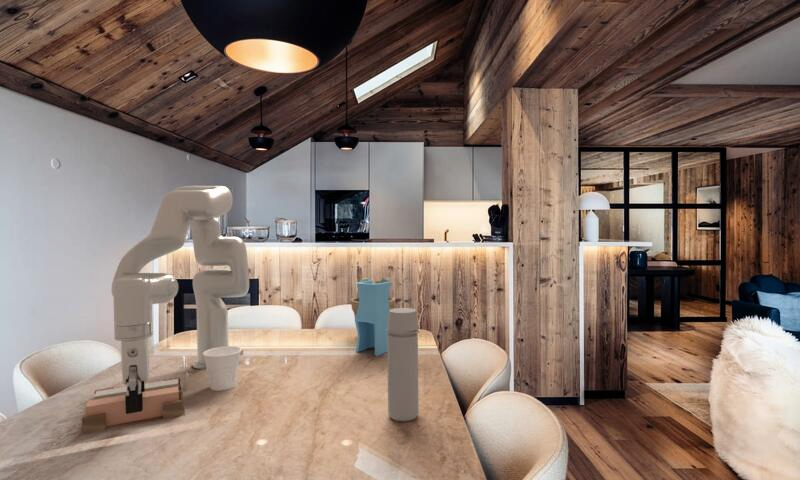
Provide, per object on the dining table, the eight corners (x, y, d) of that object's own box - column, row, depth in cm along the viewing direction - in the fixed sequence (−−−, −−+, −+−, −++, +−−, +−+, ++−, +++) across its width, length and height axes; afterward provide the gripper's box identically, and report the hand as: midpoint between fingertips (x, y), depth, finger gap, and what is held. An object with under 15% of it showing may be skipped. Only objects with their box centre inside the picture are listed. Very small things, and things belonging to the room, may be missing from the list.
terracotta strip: (178, 406, 106) (178, 386, 106) (179, 412, 103) (178, 391, 102) (88, 422, 98) (88, 400, 97) (86, 429, 94) (85, 407, 94)
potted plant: (345, 341, 172) (344, 278, 172) (358, 330, 191) (357, 273, 190) (391, 342, 169) (390, 278, 169) (399, 331, 188) (398, 274, 187)
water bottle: (409, 426, 97) (408, 314, 96) (380, 418, 101) (379, 311, 100) (429, 411, 104) (428, 308, 104) (401, 404, 109) (400, 305, 108)
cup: (249, 386, 123) (249, 347, 123) (225, 399, 114) (224, 357, 113) (221, 382, 126) (220, 345, 126) (195, 395, 117) (194, 354, 117)
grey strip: (178, 391, 116) (178, 378, 116) (178, 396, 112) (178, 383, 112) (96, 405, 107) (96, 391, 107) (94, 411, 104) (94, 396, 104)
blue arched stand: (392, 349, 160) (392, 281, 159) (377, 355, 151) (376, 284, 151) (371, 345, 165) (370, 280, 164) (355, 351, 157) (354, 283, 156)
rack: (93, 407, 109) (92, 390, 109) (182, 392, 118) (182, 376, 118) (79, 440, 92) (79, 419, 92) (185, 420, 101) (184, 401, 101)
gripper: (151, 336, 94) (153, 414, 94) (153, 322, 109) (155, 389, 109) (110, 341, 90) (112, 422, 91) (118, 325, 106) (119, 395, 106)
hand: (135, 404), depth 100 cm, fingers open, 9 cm apart
